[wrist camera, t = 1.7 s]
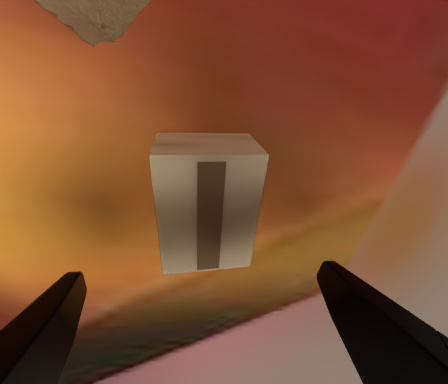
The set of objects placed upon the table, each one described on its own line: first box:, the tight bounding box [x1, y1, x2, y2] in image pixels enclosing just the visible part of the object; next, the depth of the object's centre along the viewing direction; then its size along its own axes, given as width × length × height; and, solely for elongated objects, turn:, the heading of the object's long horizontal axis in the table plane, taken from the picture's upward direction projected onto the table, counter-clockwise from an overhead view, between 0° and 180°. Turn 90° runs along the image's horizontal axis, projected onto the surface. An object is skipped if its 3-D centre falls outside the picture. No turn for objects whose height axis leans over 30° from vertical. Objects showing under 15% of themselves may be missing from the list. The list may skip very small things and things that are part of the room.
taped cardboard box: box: [149, 132, 269, 275], centre depth 12 cm, size 7×5×4 cm
